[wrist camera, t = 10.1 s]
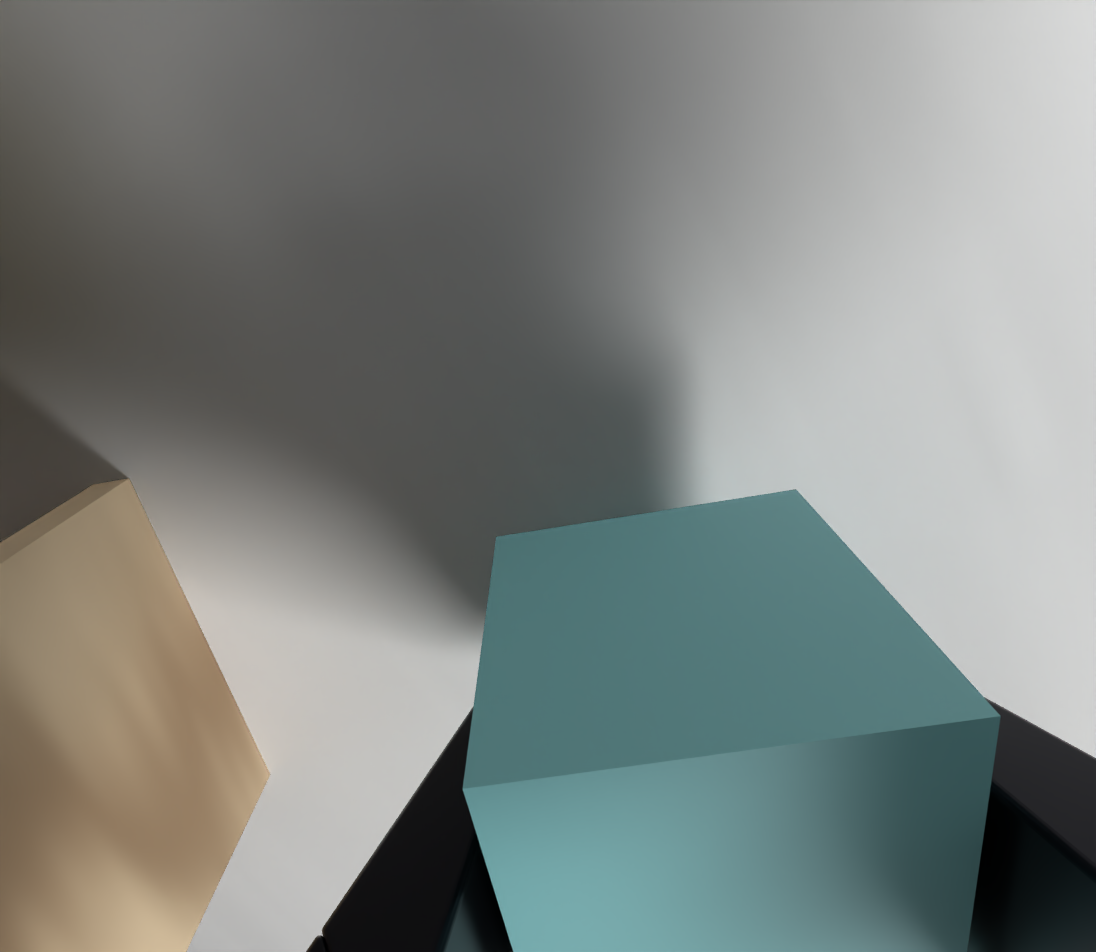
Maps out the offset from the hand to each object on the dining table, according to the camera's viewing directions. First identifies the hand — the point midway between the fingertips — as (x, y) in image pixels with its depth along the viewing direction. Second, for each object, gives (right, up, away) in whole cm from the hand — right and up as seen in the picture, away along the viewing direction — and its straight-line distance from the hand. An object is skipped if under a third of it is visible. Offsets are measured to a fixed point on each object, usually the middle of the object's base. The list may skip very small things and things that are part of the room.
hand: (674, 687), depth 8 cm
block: (0, 0, +1) cm, 1 cm away
